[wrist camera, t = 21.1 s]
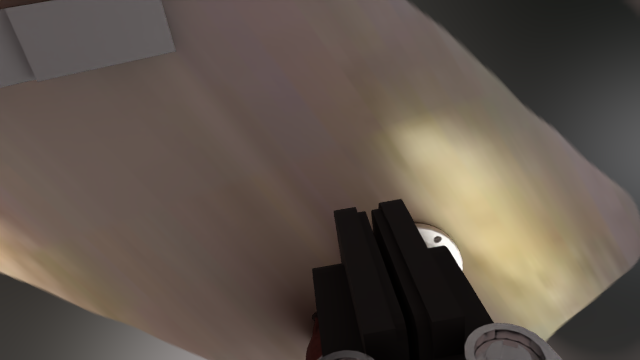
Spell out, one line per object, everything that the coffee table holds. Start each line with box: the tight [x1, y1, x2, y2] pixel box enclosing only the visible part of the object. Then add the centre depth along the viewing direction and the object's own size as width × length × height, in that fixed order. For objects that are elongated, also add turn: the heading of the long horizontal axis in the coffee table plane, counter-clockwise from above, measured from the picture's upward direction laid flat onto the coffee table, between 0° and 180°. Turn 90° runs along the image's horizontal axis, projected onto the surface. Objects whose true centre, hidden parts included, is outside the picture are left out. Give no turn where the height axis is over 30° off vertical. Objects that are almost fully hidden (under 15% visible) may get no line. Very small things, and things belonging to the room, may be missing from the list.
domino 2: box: [5, 0, 176, 82], centre depth 32 cm, size 2×5×10 cm
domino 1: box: [0, 9, 36, 88], centre depth 32 cm, size 2×5×10 cm
